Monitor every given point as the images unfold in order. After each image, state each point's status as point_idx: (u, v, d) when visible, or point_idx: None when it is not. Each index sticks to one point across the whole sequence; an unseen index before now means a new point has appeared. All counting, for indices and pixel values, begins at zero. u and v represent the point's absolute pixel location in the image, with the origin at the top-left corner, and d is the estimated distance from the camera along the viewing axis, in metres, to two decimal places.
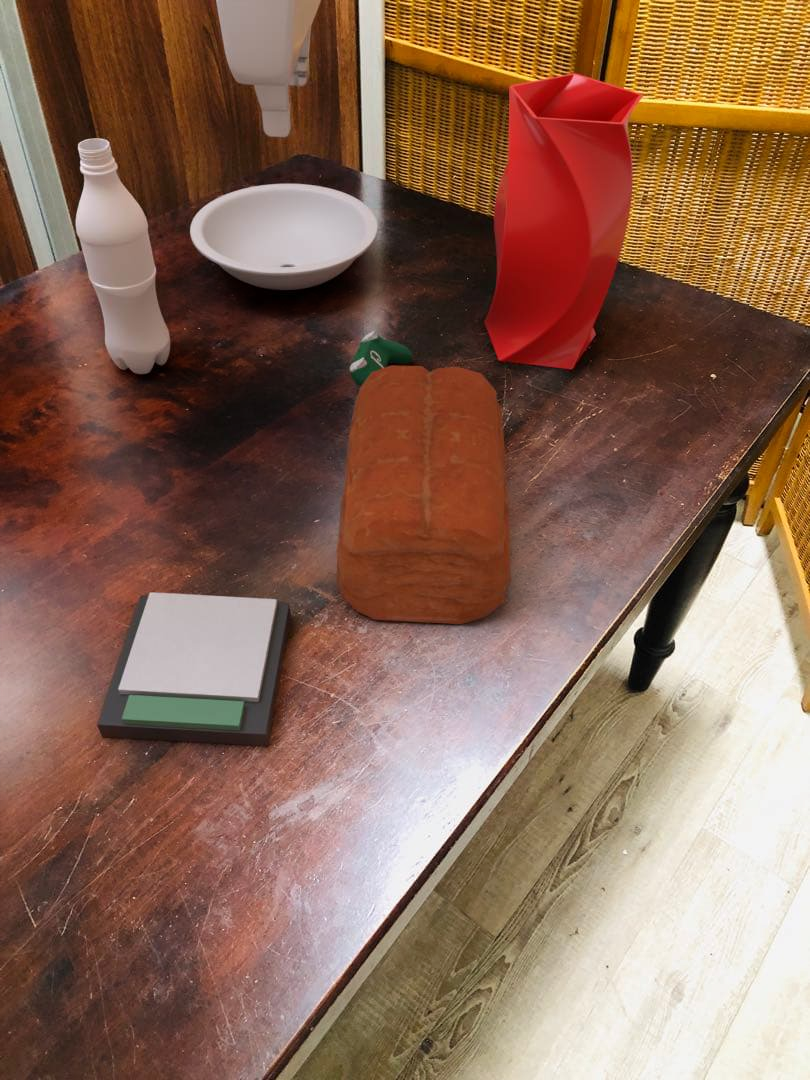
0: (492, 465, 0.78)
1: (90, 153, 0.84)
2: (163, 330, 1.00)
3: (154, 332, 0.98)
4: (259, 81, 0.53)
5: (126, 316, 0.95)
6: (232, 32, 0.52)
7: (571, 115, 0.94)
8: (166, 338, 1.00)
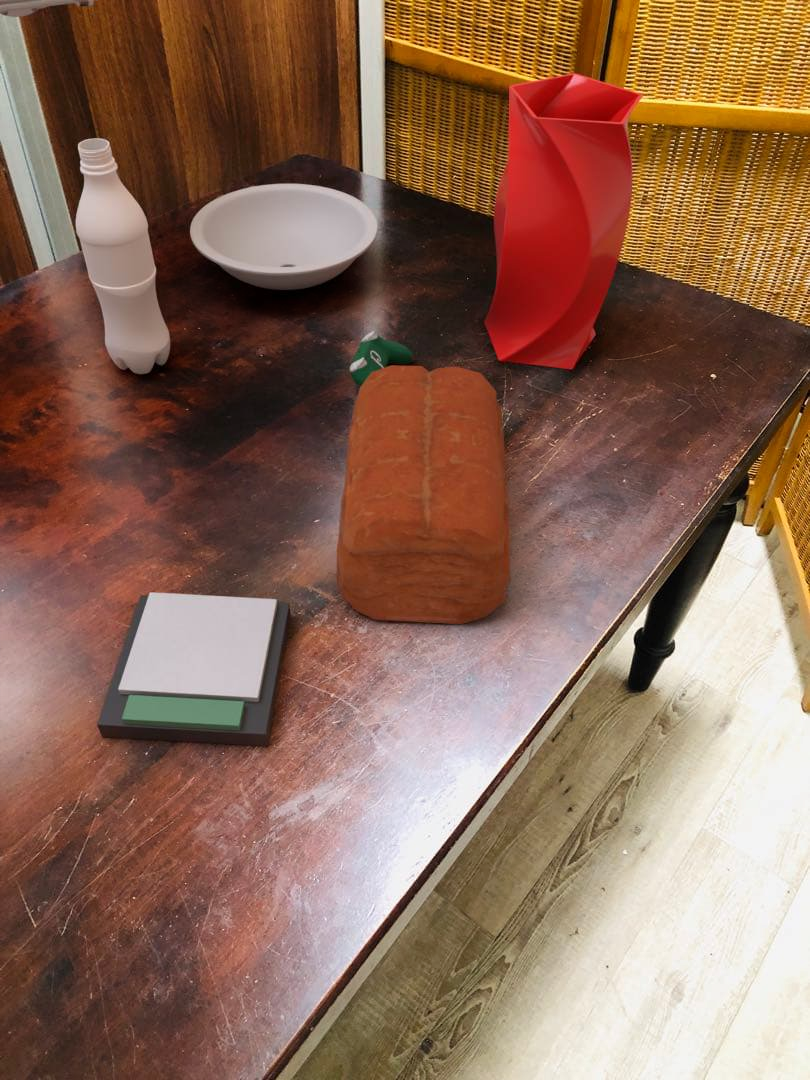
0: (492, 465, 0.78)
1: (90, 153, 0.84)
2: (163, 330, 1.00)
3: (154, 332, 0.98)
4: None
5: (126, 316, 0.95)
6: None
7: (571, 115, 0.94)
8: (166, 338, 1.00)
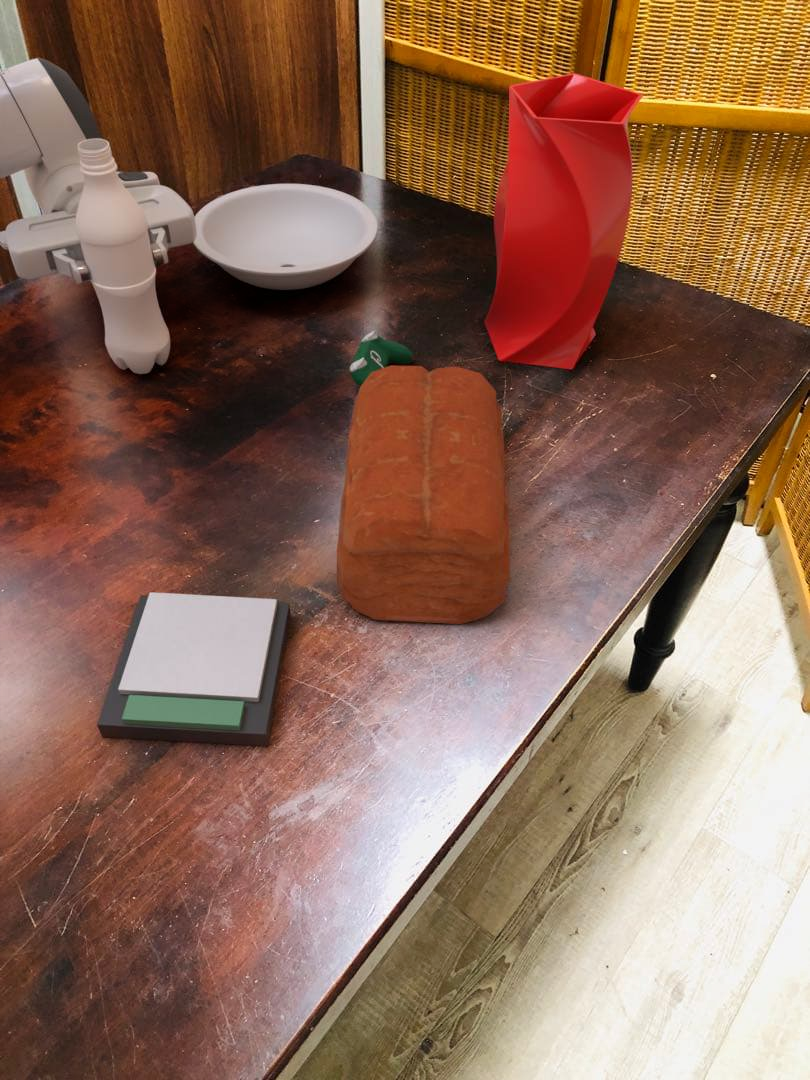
0: (492, 465, 0.78)
1: (90, 153, 0.84)
2: (163, 330, 1.00)
3: (154, 332, 0.98)
4: (194, 226, 1.00)
5: (126, 316, 0.95)
6: None
7: (571, 115, 0.94)
8: (166, 338, 1.00)
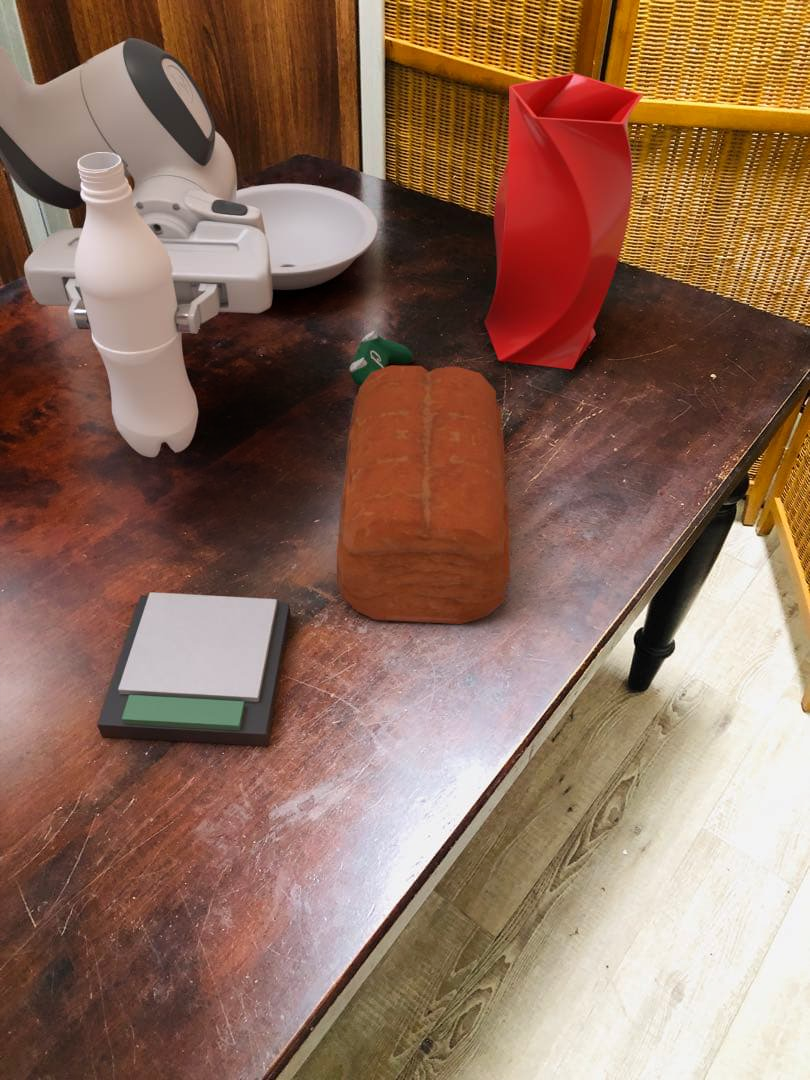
0: (492, 465, 0.78)
1: (84, 172, 0.60)
2: (183, 412, 0.75)
3: (163, 413, 0.74)
4: (265, 293, 0.73)
5: (123, 385, 0.71)
6: (269, 263, 0.74)
7: (571, 115, 0.94)
8: (184, 423, 0.75)
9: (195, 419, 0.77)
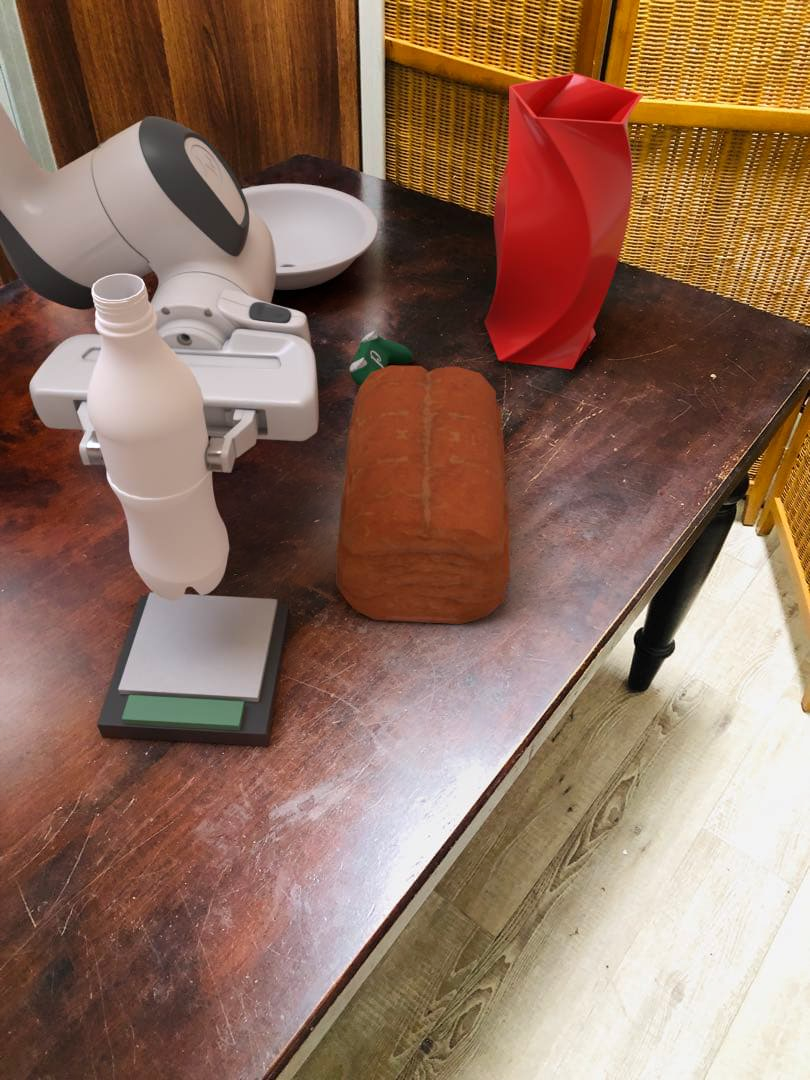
0: (492, 465, 0.78)
1: (99, 302, 0.49)
2: (212, 553, 0.64)
3: (188, 557, 0.63)
4: (311, 420, 0.62)
5: (142, 530, 0.60)
6: (316, 382, 0.63)
7: (571, 115, 0.94)
8: (213, 566, 0.64)
9: (226, 558, 0.66)
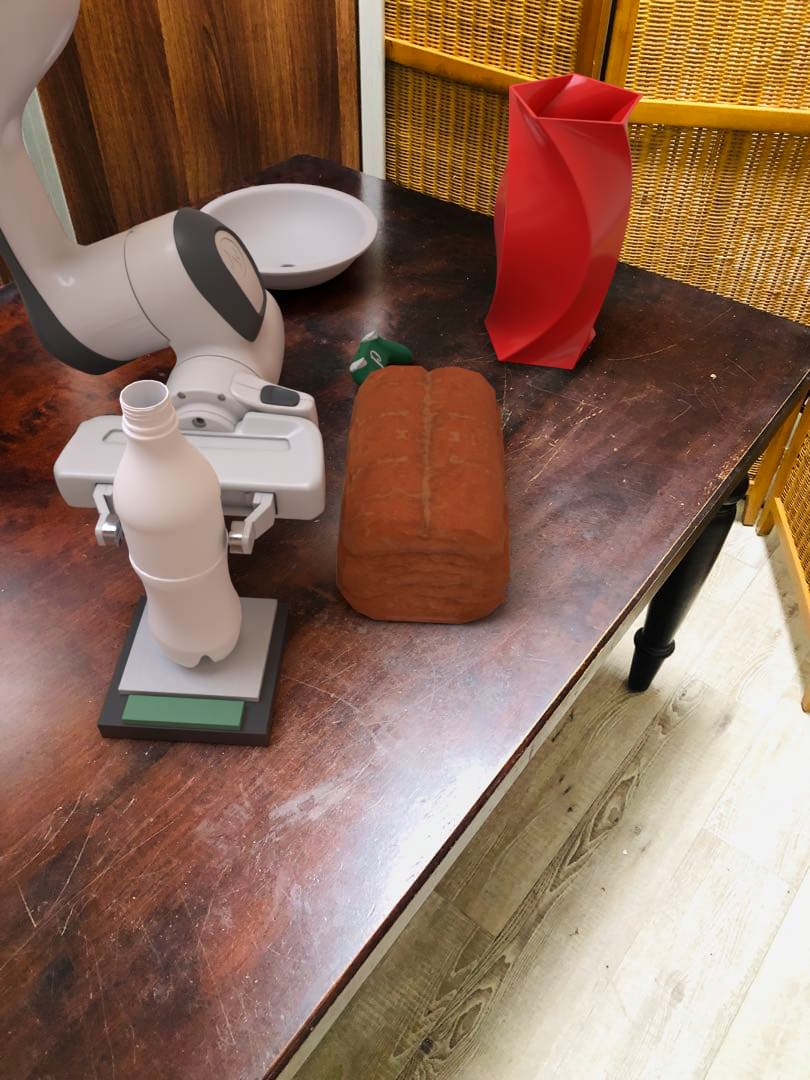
0: (492, 464, 0.78)
1: (127, 409, 0.53)
2: (226, 624, 0.68)
3: (204, 629, 0.67)
4: (319, 501, 0.66)
5: (161, 606, 0.64)
6: None
7: (571, 115, 0.94)
8: (227, 636, 0.68)
9: (239, 628, 0.70)
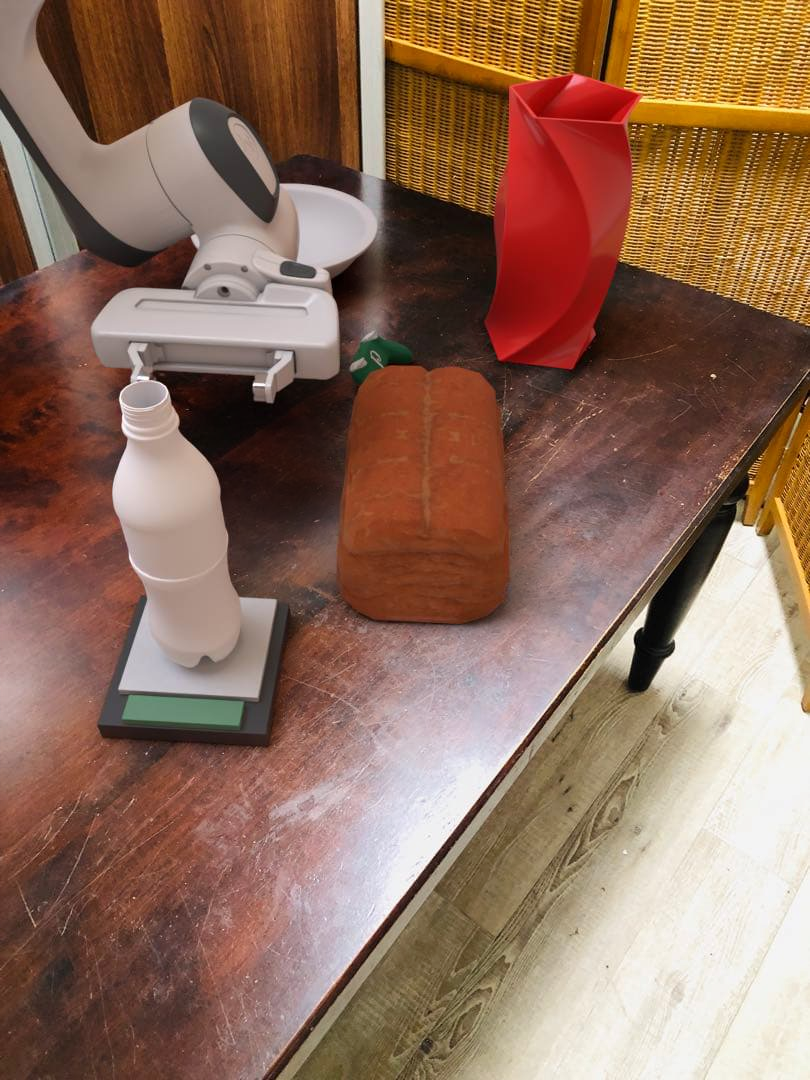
0: (492, 464, 0.78)
1: (126, 410, 0.53)
2: (226, 624, 0.68)
3: (204, 629, 0.67)
4: (334, 360, 0.71)
5: (161, 606, 0.64)
6: None
7: (571, 115, 0.94)
8: (227, 636, 0.68)
9: (239, 628, 0.70)
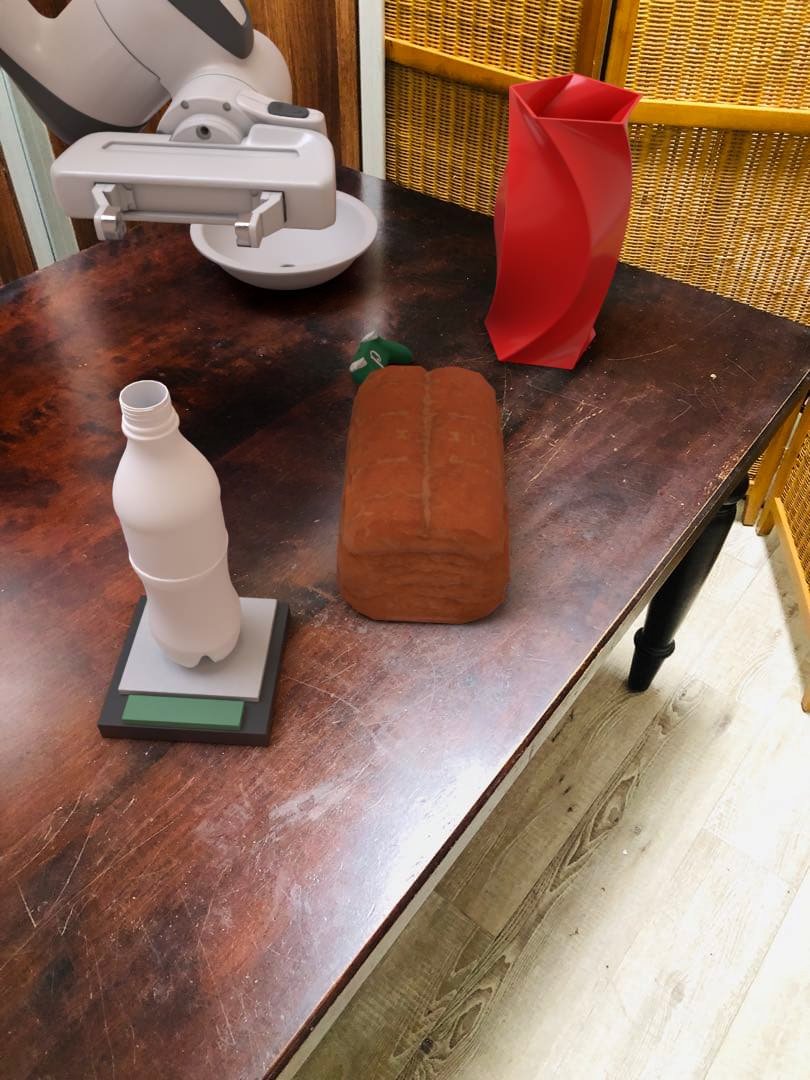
0: (491, 464, 0.78)
1: (126, 410, 0.53)
2: (226, 624, 0.68)
3: (204, 629, 0.67)
4: (330, 205, 0.62)
5: (161, 606, 0.64)
6: None
7: (571, 115, 0.94)
8: (227, 636, 0.68)
9: (239, 628, 0.70)
